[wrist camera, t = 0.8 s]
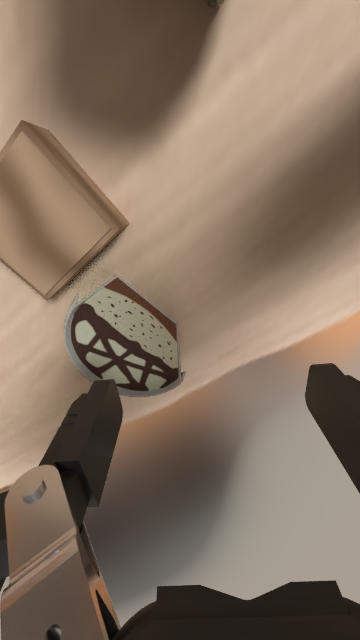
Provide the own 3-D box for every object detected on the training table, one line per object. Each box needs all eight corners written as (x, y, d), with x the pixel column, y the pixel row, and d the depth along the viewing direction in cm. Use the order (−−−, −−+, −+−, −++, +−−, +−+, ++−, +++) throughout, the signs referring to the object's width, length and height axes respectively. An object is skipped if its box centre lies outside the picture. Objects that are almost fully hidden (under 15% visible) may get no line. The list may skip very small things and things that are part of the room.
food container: (78, 302, 30) (31, 350, 21) (106, 265, 27) (66, 303, 19) (156, 358, 34) (143, 419, 25) (186, 330, 31) (185, 387, 22)
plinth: (48, 130, 22) (19, 118, 18) (129, 223, 25) (118, 229, 21) (-14, 216, 25) (-49, 221, 22) (64, 286, 29) (45, 301, 25)
